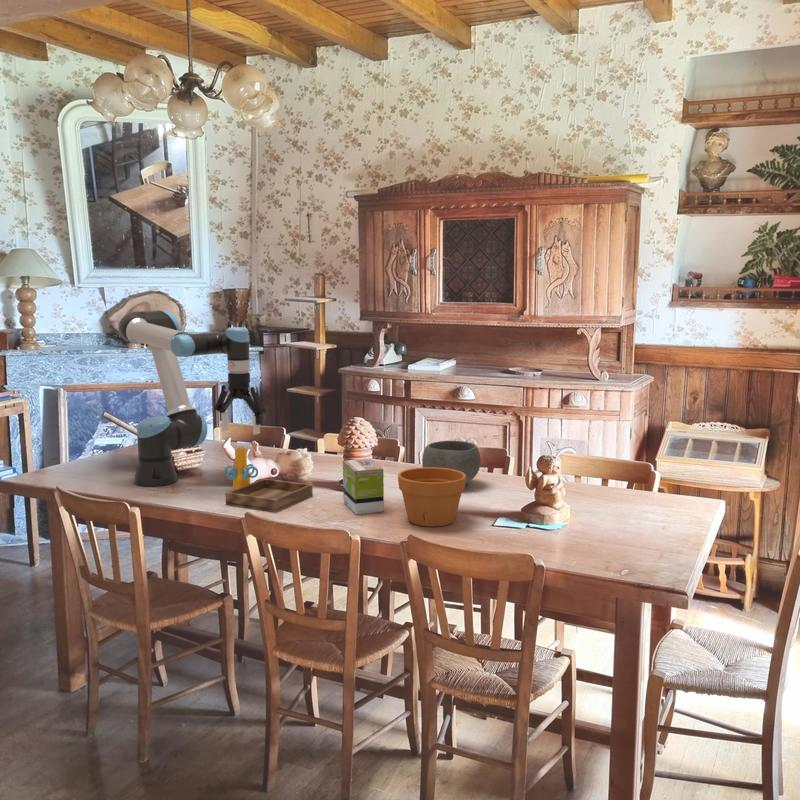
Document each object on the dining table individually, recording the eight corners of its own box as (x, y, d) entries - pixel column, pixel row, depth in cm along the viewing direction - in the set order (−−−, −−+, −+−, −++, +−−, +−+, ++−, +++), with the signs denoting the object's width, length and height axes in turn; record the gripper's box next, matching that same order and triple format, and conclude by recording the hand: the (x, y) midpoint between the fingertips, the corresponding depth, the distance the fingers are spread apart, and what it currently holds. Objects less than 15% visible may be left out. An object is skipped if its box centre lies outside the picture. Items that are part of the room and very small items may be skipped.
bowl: (453, 475, 318) (454, 437, 316) (492, 487, 302) (493, 446, 299) (410, 484, 305) (410, 443, 303) (447, 496, 289) (448, 453, 287)
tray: (226, 504, 278) (225, 492, 277) (264, 489, 297) (264, 478, 297) (276, 512, 269) (275, 500, 269) (312, 496, 289) (312, 484, 288)
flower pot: (403, 509, 274) (404, 464, 271) (468, 512, 270) (468, 467, 268) (392, 528, 253) (392, 480, 251) (461, 532, 249) (462, 484, 247)
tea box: (342, 502, 281) (341, 459, 279) (370, 500, 284) (370, 457, 282) (354, 515, 267) (354, 469, 265) (384, 512, 270) (384, 467, 268)
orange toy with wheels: (262, 486, 301) (261, 445, 299) (254, 494, 291) (253, 451, 289) (229, 485, 303) (228, 444, 300) (220, 493, 292) (219, 451, 290)
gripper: (203, 371, 293) (205, 431, 296) (262, 375, 282) (263, 437, 285) (216, 369, 299) (218, 427, 302) (274, 372, 288) (276, 433, 291)
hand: (240, 432), depth 294 cm, fingers open, 13 cm apart
